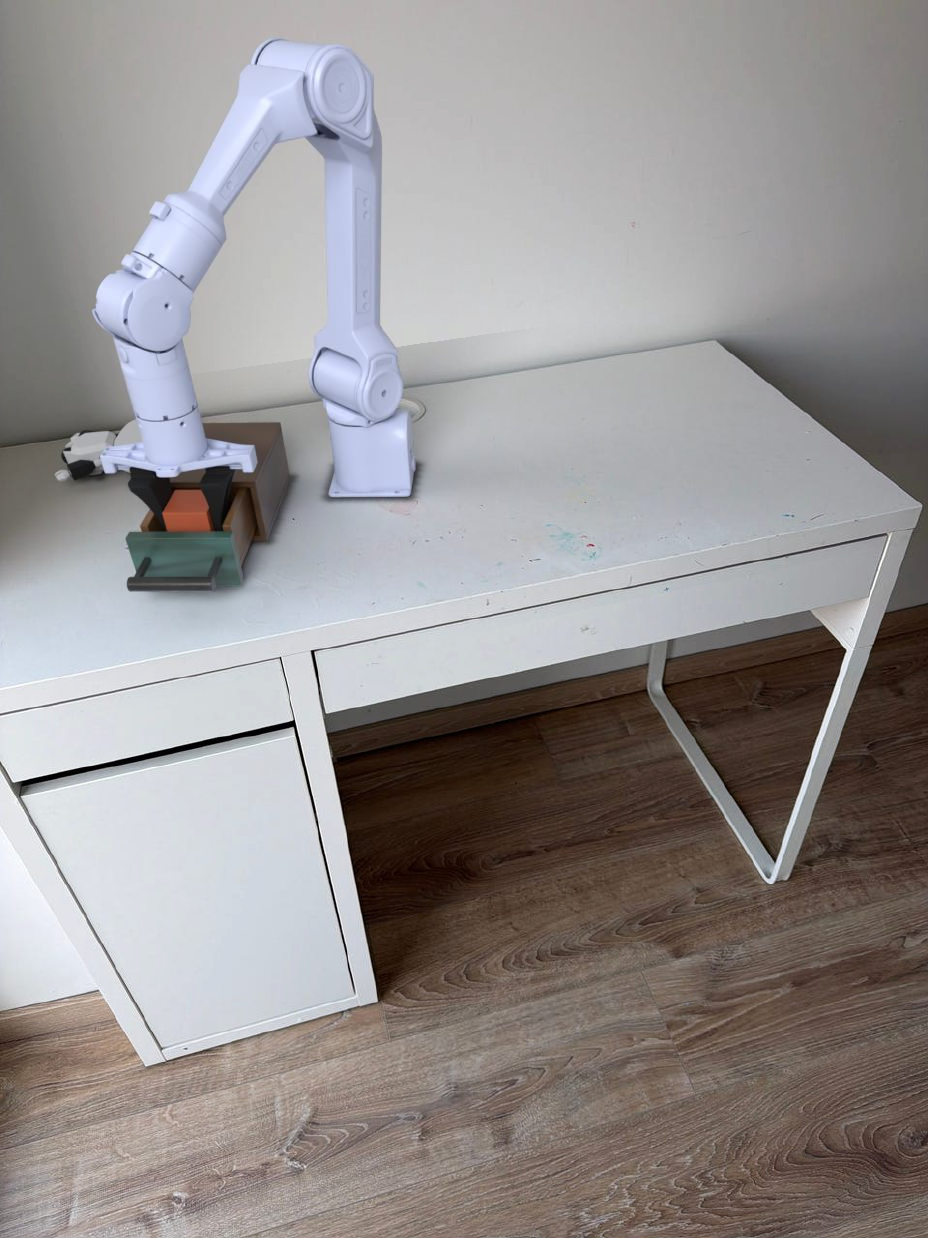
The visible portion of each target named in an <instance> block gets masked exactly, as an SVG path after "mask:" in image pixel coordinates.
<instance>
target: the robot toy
mask: <svg viewBox="0 0 928 1238" xmlns="http://www.w3.org/2000/svg"><path fill="white" fill-rule="evenodd" d="M140 442H142V438H141V435H140V431H139V428H138V424H137V421H136V418H135V419H133V420H130V421H129V422H127V423H126V424H125V425H124V426H123V427H122V428H121V429H120V431H119V433H113V432H112V431H110V430H103V431H98V430H94V429H93V430H92V429H91V430H90V429H84V430H81V431H80V432H76V433H75V434H73V436H71V437H70V441H69V442H68V443H66V444H65V447H64V449H62V451H61V453H60V458H61V460H62V461H63V462H64V463H65V464H66V467H67V469H60V470H58V471H56V472H54V473H55V474H54V477H55V479H56V480H57V481H58V482H66V481H68V480H70V478H72V479H73V481H74V482H75V481H78V480H81V479H83V478H87V477H89V476H96V475H101V474H102V473H103V472H105V471H104V468H103V465H102V462H101V459H100V455H101V454H102V452H103V451H104V449H105V448H106V447H107V446H120V445H128V444H134V443H140ZM123 471H124V472H126V473H129V474H130V470H123Z"/></svg>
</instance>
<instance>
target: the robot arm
mask: <svg viewBox="0 0 928 1238" xmlns="http://www.w3.org/2000/svg"><path fill="white" fill-rule="evenodd" d="M374 99H375V76H374V73H373V72H372V71H371V70H370V68H369V67H368V66H367V65H366V63H364V61H363V60H362V59H361V58H360V56H359V55H358V54H357V53H356V52H355V51H354V50H353V49H352V48H350V47H349V46H347V45H345V44H342V43H329V44H326V43H325V44H324V43H315V42H305V41H294V40H289V39H285V38H283V37H271V38H268V39H266V40H264V41H263V42H261V43H260V44H259V46H258V47H257V48H256V49H255V51H254V53H253V55H252V57H251V61H250V63H248V64H247V65H246V66H245V67H244V68H243V70H241V72H240V73H239V75H238V85H237V95H236V98H235V99H234V101H233V102H232V105H231V107H230V109H229V111H228V113H227V115H226V117H225V119H224V121H223V122H222V124H221V126H220V128H219V130H218V132H217V134H216V136H215V137H214V139H213V142H212V144H211V145H210V146H209V147H210V148H209V149H208V151H207V153H206V155H205V157H204V159H203V160H202V162H201V165H200V166H199V168H198V171H197V172H196V174H195V176H194V178H193V180H192V182H191V183H190V186H189V187H188V189H187V190H185V191H181V192H173V193H169V194H167V195H166V196H165V197H164V199H163V201H158V200H156V201H154V203H153V205H152V206H151V208H150V210H149V212H148V214H149V215H150V216H151V217H152V219H151V220H150V221H149V224H148V225H147V227H146V229H145V230H144V232H143V233H142V234H141V237H140V238H139V240H138V241H137V243H136V244H135V246H134V248H133V249H132V252H131V253H130V254H128V253H126V254H125V255H124V257H123V258H122V260H121V261H120V264H121V266H122V269H117V270H115V271H114V272H115V273H112V272H111V273H110V274H108V275H107V276H105V278H103V280H102V281H101V283H100V284H99V286H98V288H97V291H96V295H95V299H96V302H95V308H92V310H91V313H92V316H93V318H94V320H95V322H96V323H97V324H98V325H99V327H100V328H101V329H103V331H104V332H106V333H108V334H109V335H110V336H111V337H112V340H113V342H114V345H115V349H116V353H117V357H118V360H119V364H120V368H121V372H122V375H123V379H124V383H125V386H126V390H127V393H128V396H129V401H130V404H131V407H132V411H133V414H134V417H135V419H136V421H137V424H138V428H139V431H140V435H141V438H142V442H140V443H134V444H128V445H120V446H107V447H106V448H105V449H104V451H103V452H102V454H101V455H100V459H101V462H102V465H103V468H104V471H103V472H104V474H117V472H118V471H124V470H130V473H129V474H130V475H129V477H130V478H129V480H128V482H127V487H128V489H129V491H130V492H131V493H132V494H134V495H135V496H136V497H137V498H138V499H140V500H141V501H142V502H143V503H144V504H145V505H146V506H147V507H148V509H150V510H151V511H152V512H153V513H154V515H155V516H156V517H157V519H158V520H159V522H160V523H161V525H162V526H163V528H164V530H165V531H166V532H168V531H167V528H166V524H165V521H164V517H163V514H162V513H163V511H164V509H165V507H166V506H167V504H168V502H169V500H170V498H171V497H172V490H171V484H170V477H176V476H178V475H179V474H180V472H185V471H191V470H197V469H205V470H206V473H205V474H204V475H203V477H202V479H201V481H200V483H199V487H200V489H201V491H202V493H203V494H204V497H205V499H206V501H207V504H208V506H209V509H210V512H211V517H212V522H213V526H214V530H215V531H224V530H223V523H224V521H225V519H226V517H227V514H228V500H229V493H230V488H231V483H232V480H233V476H234V472H235V469H242V470H243V472H254V470H255V468H256V465H257V463H258V461H257V456H256V451H255V446H254V445H241V444H234V443H229V442H223V441H218V440H213V439H207V438H206V437H205V433H204V428H203V424H202V423H203V420H202V416H201V412H200V408H199V402H198V401H197V399H198V398H197V395H196V390H195V387H194V382H193V377H192V374H191V369H190V365H189V360H188V356H187V353H186V349H185V345H184V340H183V337H185V336H186V335H187V334H188V333H189V330H190V326H191V321H192V319H191V318H192V315H191V305H192V302H193V300H194V298H195V297H193V296H194V293H195V292H196V291H197V289H198V287H199V285H200V283H201V282H202V281H203V279H204V277H205V276H206V274H207V272H208V271H209V269H210V267H211V265H212V264H213V263H214V261H215V259H216V257H217V256H218V254H219V253H220V251H221V249H222V247H223V246H224V245H225V243H226V241H227V231H226V225H225V220H224V219H225V215H227V212H228V211H229V209H230V208H231V207H232V205H233V204H234V203H235V201H236V200H237V198H238V197H239V196H240V194H241V193H242V191H244V189H245V187H246V185H248V183H249V182H250V181H251V179H252V177H254V175H255V173H256V172H257V170H259V168H260V166H261V165H262V163H264V161H265V160H266V158H267V156H268V155H269V154H270V152H271V151H272V149H273V148H274V147H275V145H278V144H280V143H285V142H290V141H294V140H298V139H303V138H305V140H306V141H307V142H308V143H309V144H310V145H311V146H312V147H313V148H314V150H316V151H317V152H318V153H319V154H320V155H321V156H322V158H323V161H324V162H323V163H324V198H325V200H324V203H325V204H324V205H325V208H324V209H325V247H326V248H325V250H326V295H327V302H326V303H327V323H326V325H325V326H324V327H322V328H321V329H320V330H319V331H318V332H317V333H316V334H315V336H314V340H313V341H314V348H313V349H314V350H313V354H312V358H311V361H310V364H309V367H308V374H307V375H308V383H309V386H310V388H311V391H313V393H314V394H315V395H316V396H317V397H319V398H321V400H322V406H323V409H324V410H326V417H327V423H328V433H329V440H330V447H331V454H332V461H333V468H334V469H333V470H334V472H333V475H332V479H331V482H330V485H329V488H328V489H329V490H328V497H330V498H408V497H410V496H411V494H412V488H413V482H414V481H413V480H414V475H415V472H416V466H417V463H416V456H415V449H414V435H413V422H412V421H413V420H412V413H411V410H410V409H405V408H399V406H400V404H401V401H402V399H403V395H404V388H405V383H404V378H403V374H402V373H401V369H400V367H399V351H398V349H397V347H396V345H395V344H394V342H393V341H392V340H391V339H390V338H389V335H388V334H387V333H386V332H385V330H384V329H383V327H382V326H381V280H382V279H381V278H382V277H381V274H382V271H381V270H382V269H381V268H382V265H381V264H382V262H381V261H382V256H381V255H382V188H383V186H382V183H383V181H382V180H383V139H382V138H383V137H382V133H381V132H382V131H381V129H380V126H379V121H378V119H377V115H376V112H375V111H376V110H375V106H374V105H375V101H374Z"/></svg>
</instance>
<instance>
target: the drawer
mask: <svg viewBox="0 0 928 1238" xmlns="http://www.w3.org/2000/svg"><path fill="white" fill-rule="evenodd" d="M171 490H172V495H173V493H174V491H175V490H201V489H200V488H171ZM257 525H258V524H257V519H256V514H255V509H254V504H253V500H252V495H251V490H250V487H231V488H230V493H229V500H228V514H227V517H226V519H225V521H224V523H223V530H224V531H197V532H166V531H165V530H164V528H163V526H162V525H161V523H160V522H159V520H158V519H157V517H156V516H155V515H154V513H153V512H152V511H151V510H150V508H148V511H147V513H146V514H145V516H144V518H143V520H142V521H141V523H140V524H139V528H140V531H129V532H128V533H127V534H126V536H125V542H126V544H127V548H128V551H129V554H130V558H131V560H132V564H133V566H134V570H135V574H134V575H133V576H128V577H127V579H126V589H127V591H128V592H130V593H131V592H132V593H135V592H141V593H142V592H147V593H151V592H152V593H154V592H155V593H157V592H158V593H159V592H160V593H163V592H165V593H167V592H168V593H169V592H170V593H172V592H174V593H175V592H177V593H179V592H181V593H183V592H185V593H187V592H188V593H189V592H192V593H193V592H199V593H201V592H202V593H203V592H205V593H206V592H207V593H210V592H212V593H213V592H214V591H215V590H216V586H217V587H219V586H223V587H225V586H226V587H227V586H228V587H230V586H235V587H236V586H237V587H238V586H239V587H241V586H242V585H243V581H244V579H245V578H244V573H243V570H242V566H243V563H244V560H245V558H246V555H247V553H248V550H249V548H250V545H251V543H252V541H251V540H252V538H253V535H254V533H255V530H256V528H257Z"/></svg>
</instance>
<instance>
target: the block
mask: <svg viewBox="0 0 928 1238" xmlns="http://www.w3.org/2000/svg"><path fill="white" fill-rule="evenodd" d="M162 514H163V517H164V521H165V524H166V528H167V531H168V532H197V531H215V530H214V526H213V522H212V517H211V512H210V509H209V506H208V504H207V501H206V499H205V497H204V494H203V493H202V491H201V490H175V491H174V493H173V495H172V497H171V498H170V500H169V502H168V504H167V506H166V507H165V509H164V511H163V513H162Z"/></svg>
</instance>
